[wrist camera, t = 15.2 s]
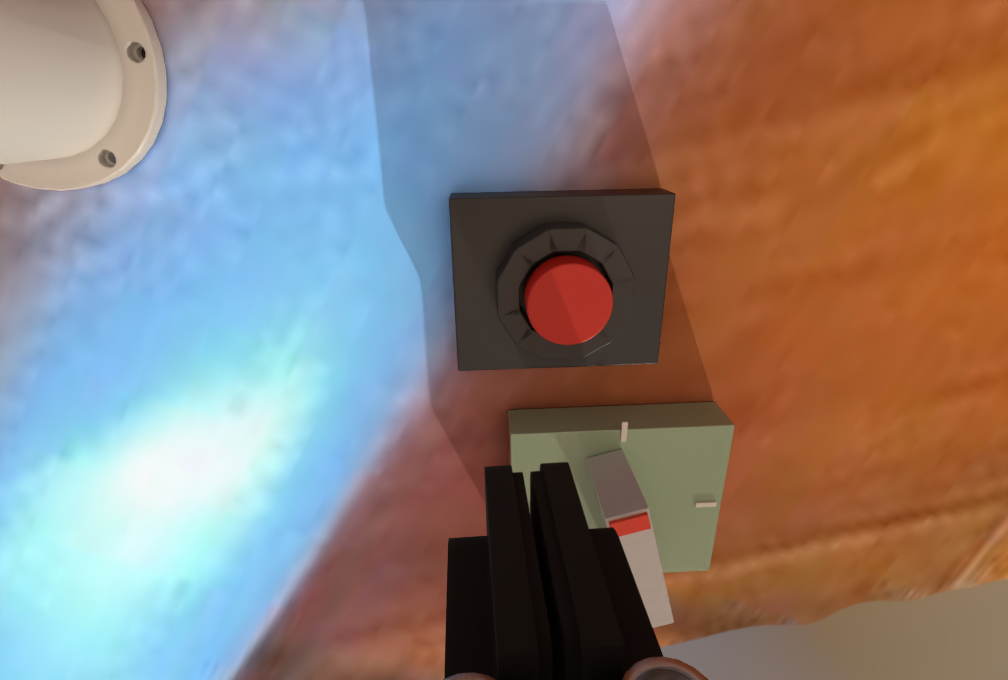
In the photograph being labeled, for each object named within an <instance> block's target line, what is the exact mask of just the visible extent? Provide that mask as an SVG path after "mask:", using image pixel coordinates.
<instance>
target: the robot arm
mask: <svg viewBox="0 0 1008 680" xmlns="http://www.w3.org/2000/svg"><path fill="white" fill-rule="evenodd" d="M143 49H144V50H145V58H144V57H143V55H142V50H143ZM166 101H167V74H166V68H165V63H164V58H163V53H162V47H161V44H160V42H159V39H158V36H157V33H156V31H155V28H154V25H153V22H152V20H151V17H150V16H149V14H148V12H147V10H146V8H145V6H144V5H143V3H142V1H141V0H0V178H2V179H5V180H7V181H9V182H12V183H16V184H20V185H24V186H28V187H32V188H36V189H45V190H60V191H64V190H72V189H80V188H87V187H91V186H96V185H100V184H104V183H107V182H109V181H111V180H113V179H115V178H117V177H119V176H122V175H124V174H125V173H127V172H128V171H129V170H130V169H131V168H133V167H134V166H135V165H136V164H138V163H139V162H140V161H141V160H142V159H143V157H144V156H145V155H146V153H147V152H148V151H149V149H150V148H151V147H152V145H153V144H154V142H155V139H156V137H157V135H158V132H159V130H160V128H161V125H162V123H163V117H164V112H165V107H166ZM113 154H114V156H115V158H116V161H115V159H114V158H113ZM485 493H486V520H487V536H477V537H463V538H449V541H448V571H447V608H446V645H445V679H443V680H708V679H707V678H706V677H705V676H704V675H702V674H701V673H700V672H699V671H698V670H696V669H695V668H694V667H692V666H690V665H688V664H686V663H683V662H682V661H680V660H677V659H672V658H667V657H663V655H662V652H661V649H660V646H659V644H658V641H657V638H656V636H655V633H654V630H653V628H652V625H651V622H650V620H649V617H648V614H647V611H646V609H645V606H644V603H643V601H642V598H641V595H640V593H639V590H638V587H637V585H636V582H635V579H634V576H633V574H632V571H631V568H630V566H629V563H628V560H627V558H626V555H625V552H624V550H623V547H622V544H621V541H620V539H619V536H618V534H617V532H616V530H615V529H614V528H613V527H609V528H594V529H589V527H588V524H587V521H586V518H585V514H584V511H583V508H582V505H581V501H580V498H579V495H578V492H577V488H576V485H575V482H574V479H573V475H572V472H571V469H570V466H569V463H568V462H557V463H541V464H540V471H531V473H530V511H529V505H528V500H527V494H526V488H525V482H524V476H523V472H514V473H513V471H512V466H511V465H507V466H491V467H485Z"/></svg>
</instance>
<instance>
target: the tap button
mask: <svg viewBox="0 0 1008 680" xmlns="http://www.w3.org/2000/svg"><path fill="white" fill-rule="evenodd" d="M524 301H525V306H526V310H527V314H528V317H529V320H530V323H531V325H532V326H533V328H534V329H535V331H536V332H537V333H538V334H539V335H540V336H542V337H543V338H545V339H546V340H548V341H550V342H553V343H556V344H561V345H574V344H579V343H582V342H585V341H587V340H589V339H591V338H592V337H594V336H595V335H596V334H598V333H599V332H600V331H601V330H602V329H603V327H604V326H605V325H606V323H607V321H608V320H609V317H610V315H611V312H612V307H613V296H612V291H611V288H610V286H609V283H608V282H607V280H606V279H605V277H604V276H603V275H602V274H601V272H600V271H599V270H598V269H597V268H596V267H595V266H594V265H593V264H592V263H591V262H589V261H588V260H586V259H584V258H581V257H578V256H572V255H563V256H557V257H554V258H551V259H549V260H547V261H545V262H544V263H542V264H541V265H539V266H538V267H537V268H536V269H535V270H534V272H533V273H532V274H531V276H530V277H529V279H528V281H527V284H526V287H525V293H524Z"/></svg>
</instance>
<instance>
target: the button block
mask: <svg viewBox="0 0 1008 680" xmlns="http://www.w3.org/2000/svg"><path fill="white" fill-rule="evenodd" d="M674 203H675V193H672V192H670V191H667V190H665V189H662V188H657V189H613V190H569V191H525V192H481V193H451V195H450V198H449V209H450V228H451V246H452V265H453V283H454V302H455V320H456V339H457V357H458V370H459V371H470V370H497V369H525V368H552V367H579V366H607V365H634V364H657V363H658V354H659V345H660V335H661V326H662V317H663V307H664V298H665V288H666V279H667V269H668V260H669V251H670V241H671V232H672V222H673V213H674ZM563 255H572V256H578V257H581V258H584V259H586V260H588V261H589V262H591V263H592V264H593V265H594V266H595V267H596V268H597V269H598V270H599V271H600V272H601V274H602V275H603V276H604V277H605V279H606V280H607V282H608V283H609V286H610V288H611V291H612V296H613V307H612V312H611V315H610V317H609V320H608V321H607V323H606V325H605V326H604V327H603V329H602V330H601V331H600V332H599V333H598V334H596V335H595V336H594V337H592V338H591V339H589V340H587V341H585V342H582V343H579V344H574V345H561V344H556V343H553V342H550V341H548V340H546V339H545V338H543V337H542V336H540V335H539V334H538V333H537V332H536V331H535V329H534V328H533V326H532V325H531V323H530V320H529V317H528V314H527V310H526V306H525V301H524V293H525V287H526V284H527V281H528V279H529V277H530V276H531V274H532V273H533V272H534V270H535V269H536V268H537V267H538V266H539V265H541V264H542V263H544V262H545V261H547V260H549V259H551V258H554V257H557V256H563Z"/></svg>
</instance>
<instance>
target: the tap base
mask: <svg viewBox="0 0 1008 680" xmlns="http://www.w3.org/2000/svg"><path fill="white" fill-rule="evenodd" d="M733 432H734V424H733V423H732V421H731V420H730V419H729V418H728V417H727V415H726V414H725V413H724V412H723V411H722V410H721V408H720V407H719V406H718V405H717V404H716V402H693V403H668V404H643V405H618V406H593V407H567V408H542V409H517V410H508V465H511V466H512V471H513V473H514V472H523V476H524V482H525V488H526V494H527V500H528V505H529V511H530V473H531V471H540V464H541V463H557V462H568V463H569V466H570V469H571V472H572V475H573V479H574V482H575V485H576V488H577V492H578V495H579V498H580V501H581V505H582V508H583V511H584V514H585V518H586V521H587V524H588V527H589V529H594V528H604V527H603V523H602V519H601V515H600V512H599V508H598V504H597V501H596V497H595V493H594V489H593V486H592V482H591V478H590V475H589V471H588V467H587V463H586V458H590V457H594V456H597V455H601V454H605V453H609V452H612V451H616V450H620V449H623V451H624V454H625V456H626V458H627V460H628V463H629V465H630V467H631V469H632V472H633V474H634V476H635V478H636V481H637V483H638V485H639V487H640V490H641V492H642V494H643V496H644V498H645V501H646V503H647V505H648V507H649V511H650V516H651V520H652V525H653V529H654V534H655V538H656V543H657V548H658V552H659V557H660V561H661V566H662V570H663V573H666V572H685V571H704V570H709V567H710V562H711V556H712V550H713V545H714V539H715V533H716V528H717V522H718V516H719V511H720V505H721V499H722V494H723V488H724V482H725V477H726V471H727V465H728V460H729V454H730V448H731V443H732V437H733Z"/></svg>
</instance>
